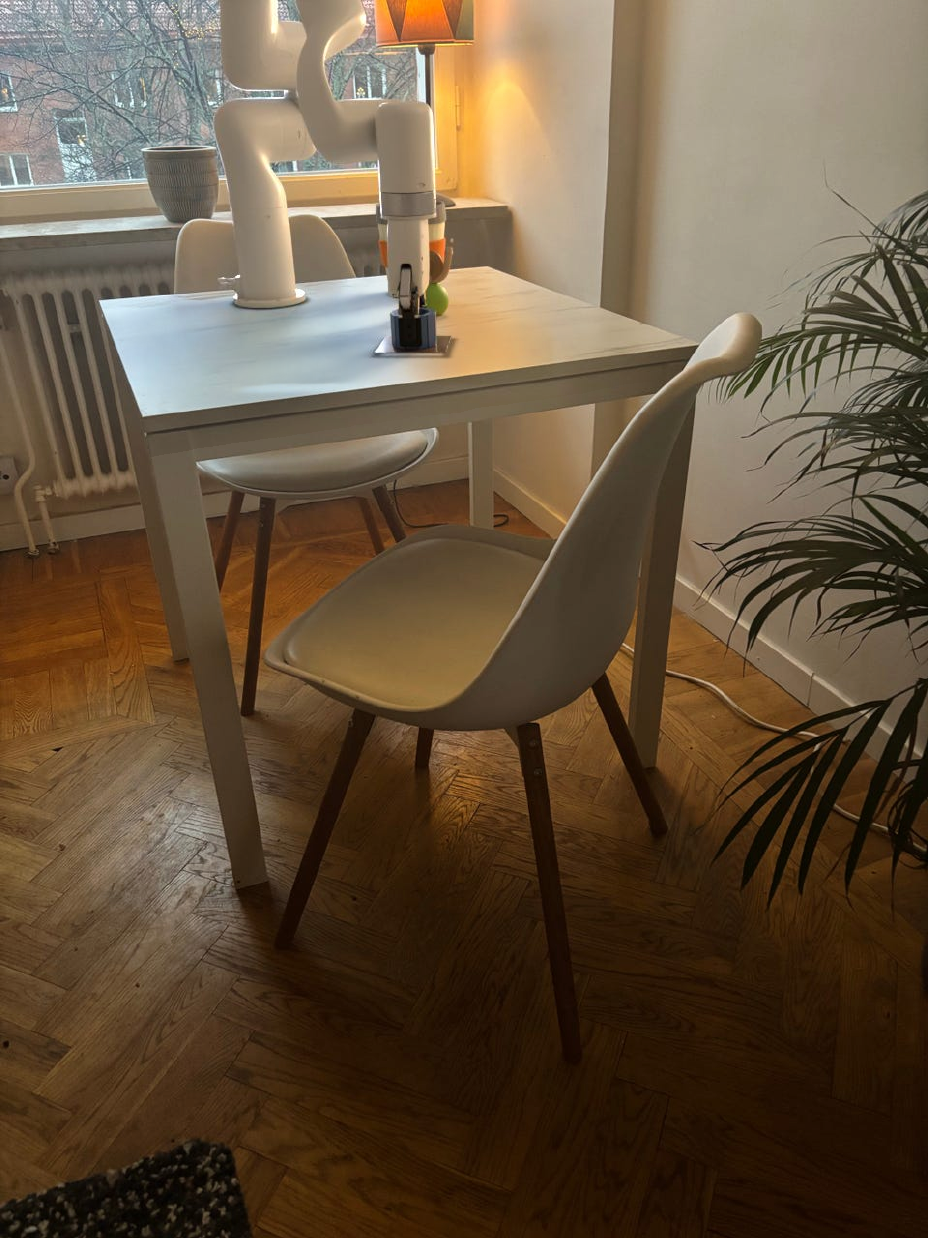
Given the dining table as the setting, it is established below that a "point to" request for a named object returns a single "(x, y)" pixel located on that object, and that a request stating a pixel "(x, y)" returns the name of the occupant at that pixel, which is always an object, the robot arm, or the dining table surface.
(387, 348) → the dowel stand
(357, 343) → the dining table surface
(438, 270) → the snail figurine
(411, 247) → the robot arm
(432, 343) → the blue ring
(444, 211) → the reusable coffee cup
